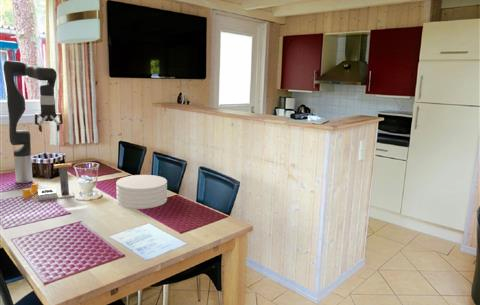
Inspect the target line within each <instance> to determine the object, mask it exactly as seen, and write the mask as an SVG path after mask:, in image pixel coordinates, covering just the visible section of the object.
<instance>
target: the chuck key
mask: <svg viewBox="0 0 480 305" xmlns="http://www.w3.org/2000/svg"><path fill="white" fill-rule="evenodd" d="M70 167H73V163H72V162H70V163H58V164H53V168H54V169H58V170H59V181H60V182H59V183H60V184H59V185H60V193H61V195H68V194H69V192H70V189H69V176H68V175H69V174H68V168H70Z"/></svg>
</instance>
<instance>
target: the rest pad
mask: <svg viewBox="0 0 480 305" xmlns="http://www.w3.org/2000/svg"><path fill="white" fill-rule="evenodd" d="M72 192H73V191H69V194H68V195H61V192H56V193H57V196H58V198H65V199H67V198H66V197H73V198H75V197H74V196H75V194H74V192H73V193H72ZM73 194H74V195H73Z"/></svg>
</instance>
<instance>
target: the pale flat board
mask: <svg viewBox="0 0 480 305" xmlns="http://www.w3.org/2000/svg"><path fill="white" fill-rule="evenodd" d="M71 192H72V193H73V195H74V197H66V198H58V196H57V199H51V200H42V201H39V198H38V195H33V196H31V201H32V203H40V202H46V201H55V200H63V199H71V198H73V199H74V198H76V196H75V194H74V191H71Z"/></svg>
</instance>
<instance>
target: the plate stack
mask: <svg viewBox="0 0 480 305" xmlns="http://www.w3.org/2000/svg"><path fill="white" fill-rule="evenodd" d="M115 183H116V184H115V185H116V188H115V189H116V203H117V205H118V206H120V207H122V208H126V209H136V210H137V209H139V210H142V209H143V210H144V209H151V208H157V207H159V206H162V205H164V204H165V203H166V202H167V201H168V180H167V179H166V178H165V177H163V176H159V175H154V174H153V175H152V174H134V175H129V176H124V177H121V178H119V179H117V180H116V182H115Z"/></svg>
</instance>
